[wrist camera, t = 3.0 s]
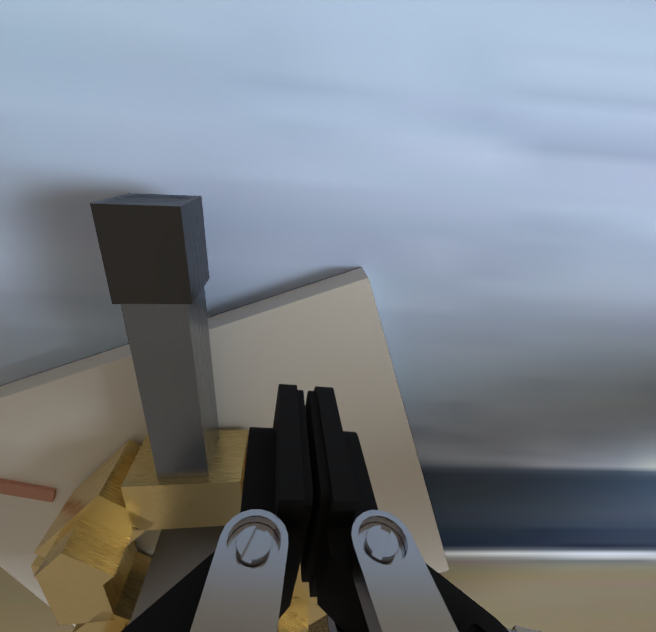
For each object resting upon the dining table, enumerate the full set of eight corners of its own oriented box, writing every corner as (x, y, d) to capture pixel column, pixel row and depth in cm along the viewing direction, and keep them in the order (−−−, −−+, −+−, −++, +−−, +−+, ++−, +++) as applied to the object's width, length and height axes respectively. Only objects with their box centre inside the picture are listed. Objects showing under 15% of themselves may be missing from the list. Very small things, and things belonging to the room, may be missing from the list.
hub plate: (361, 267, 16) (496, 485, 6) (440, 548, 26) (546, 828, 15) (-116, 424, 17) (-765, 859, 7) (128, 638, 27) (20, 961, 16)
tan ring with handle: (328, 589, 23) (336, 682, 19) (107, 606, 22) (65, 711, 18) (358, 201, 13) (388, 223, 9) (-48, 186, 12) (-226, 204, 8)
